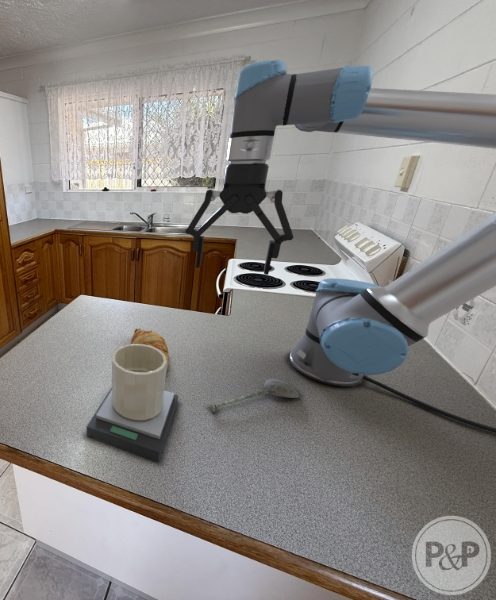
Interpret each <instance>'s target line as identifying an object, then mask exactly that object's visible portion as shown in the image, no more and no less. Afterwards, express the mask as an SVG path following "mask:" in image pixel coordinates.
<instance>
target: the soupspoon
mask: <svg viewBox="0 0 496 600" xmlns="http://www.w3.org/2000/svg"><path fill="white" fill-rule="evenodd" d="M263 387H264V390H259V391H256V392H252V393H247V394H246V395H242V396H240V397H237V398H233V399H230V400H226V401H221V402H218V403H214V404H212V403H210V404H209V407H210V409H211V411H212V412H213V413H216V410H219V409H221V408H222V407H226V406H227V405H231V404H234V403H237V402H242V401H244V400H247V399H248V400H249V399H251V398H254V397H258V396H263V395H266V394H268V395H272V396H275V397H281V398H282V397H283V398H287V399H288V398H290V399H293V398H294V399H295V398H300V394H299V392H298V391H297V390H296V389H295V388H294V387H293V386H292V385H290V384H289V383H287V382H286V381H284V380H281V379H276V378H269V379H266V380H265V381H264V384H263Z"/></svg>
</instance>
